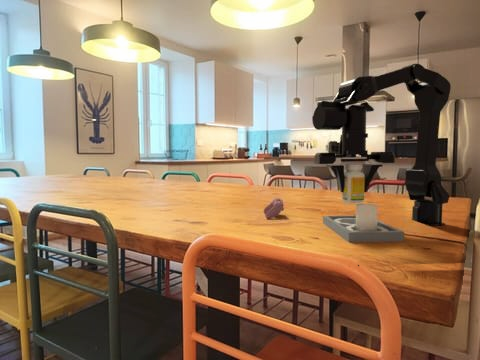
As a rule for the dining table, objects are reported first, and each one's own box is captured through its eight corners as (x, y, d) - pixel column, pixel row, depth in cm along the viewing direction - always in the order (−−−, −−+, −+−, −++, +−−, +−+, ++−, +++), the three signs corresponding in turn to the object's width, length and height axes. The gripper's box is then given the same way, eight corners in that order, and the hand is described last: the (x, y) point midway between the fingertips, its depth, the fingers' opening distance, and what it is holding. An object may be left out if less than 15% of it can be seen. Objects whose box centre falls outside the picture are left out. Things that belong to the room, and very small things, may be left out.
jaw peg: (371, 232, 81) (372, 203, 81) (380, 237, 77) (381, 206, 76) (352, 233, 81) (353, 203, 80) (360, 238, 76) (360, 206, 76)
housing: (366, 226, 94) (366, 215, 93) (403, 245, 74) (404, 231, 73) (323, 226, 93) (323, 215, 93) (348, 246, 73) (348, 232, 73)
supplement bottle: (338, 202, 87) (338, 164, 86) (347, 199, 91) (347, 163, 90) (359, 204, 84) (360, 164, 83) (367, 201, 88) (368, 163, 87)
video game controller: (277, 224, 105) (288, 203, 104) (264, 217, 105) (274, 197, 104) (274, 218, 115) (283, 199, 114) (262, 212, 115) (271, 193, 114)
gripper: (376, 131, 94) (376, 188, 95) (309, 132, 94) (309, 189, 95) (396, 128, 83) (395, 192, 84) (320, 129, 83) (319, 194, 84)
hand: (353, 192), depth 87 cm, fingers closed on supplement bottle, 5 cm apart
